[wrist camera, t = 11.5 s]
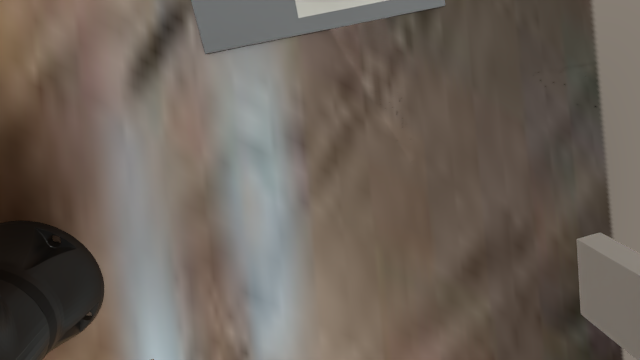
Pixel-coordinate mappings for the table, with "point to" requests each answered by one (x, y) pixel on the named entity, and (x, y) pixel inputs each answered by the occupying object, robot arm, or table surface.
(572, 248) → the table surface
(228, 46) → the board
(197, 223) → the table surface
